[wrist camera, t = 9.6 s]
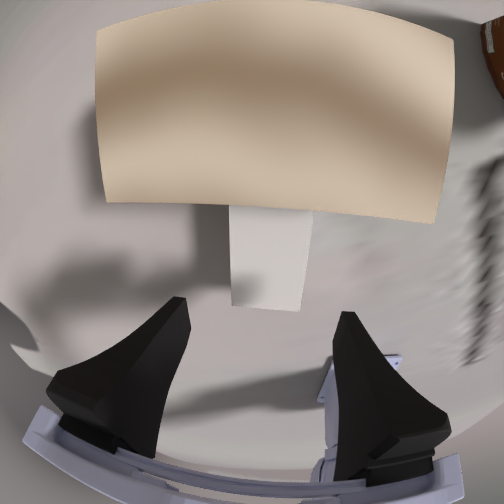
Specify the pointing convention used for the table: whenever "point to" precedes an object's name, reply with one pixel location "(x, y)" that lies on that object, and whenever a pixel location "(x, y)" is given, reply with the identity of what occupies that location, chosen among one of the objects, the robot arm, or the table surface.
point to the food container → (494, 50)
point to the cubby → (275, 108)
